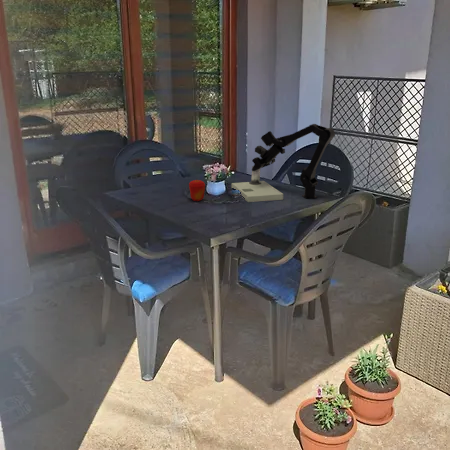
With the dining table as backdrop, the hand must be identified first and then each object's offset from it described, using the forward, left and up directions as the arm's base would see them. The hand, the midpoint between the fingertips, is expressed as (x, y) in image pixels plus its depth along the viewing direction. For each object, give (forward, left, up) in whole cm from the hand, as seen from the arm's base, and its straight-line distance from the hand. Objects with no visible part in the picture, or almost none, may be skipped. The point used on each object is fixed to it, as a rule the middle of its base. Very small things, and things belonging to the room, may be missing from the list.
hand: (254, 169), depth 285 cm
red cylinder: (-16, +38, -11) cm, 42 cm away
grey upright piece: (0, 0, -8) cm, 8 cm away
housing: (-12, +3, -11) cm, 16 cm away
